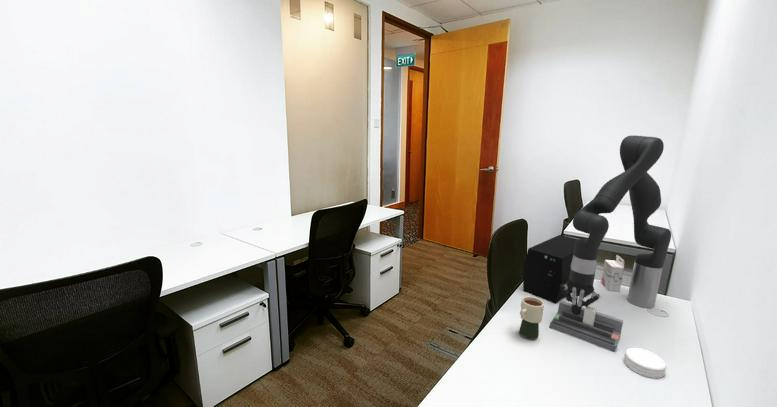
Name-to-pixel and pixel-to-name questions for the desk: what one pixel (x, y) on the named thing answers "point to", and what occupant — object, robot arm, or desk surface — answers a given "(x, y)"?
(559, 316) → the grey slider panel
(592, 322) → the handle
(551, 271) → the uninterruptible power supply
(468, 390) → the desk surface
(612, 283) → the ink cartridge box
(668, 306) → the desk surface
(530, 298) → the character mug
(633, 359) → the white round disc
